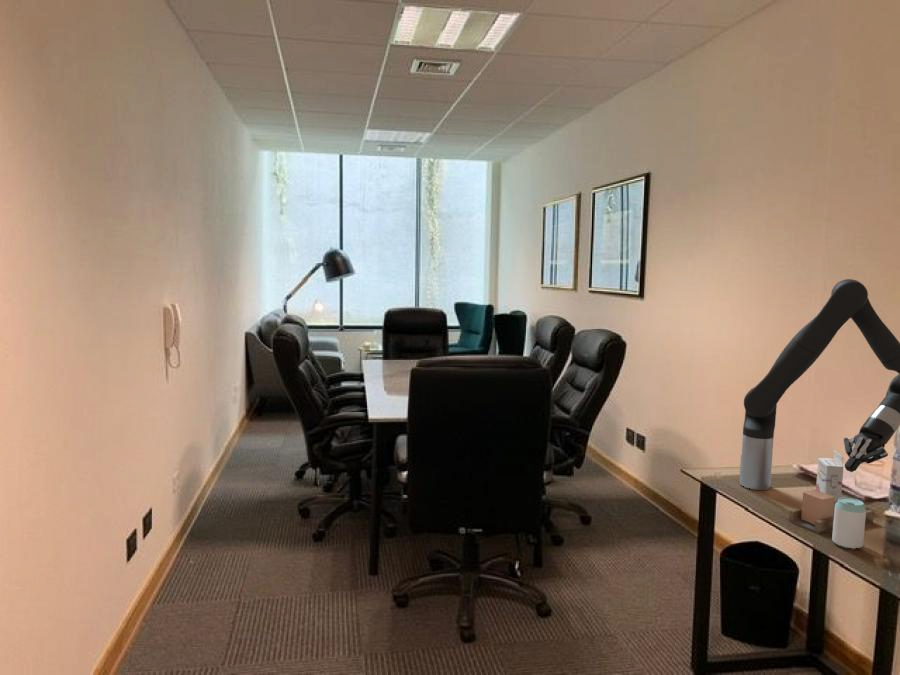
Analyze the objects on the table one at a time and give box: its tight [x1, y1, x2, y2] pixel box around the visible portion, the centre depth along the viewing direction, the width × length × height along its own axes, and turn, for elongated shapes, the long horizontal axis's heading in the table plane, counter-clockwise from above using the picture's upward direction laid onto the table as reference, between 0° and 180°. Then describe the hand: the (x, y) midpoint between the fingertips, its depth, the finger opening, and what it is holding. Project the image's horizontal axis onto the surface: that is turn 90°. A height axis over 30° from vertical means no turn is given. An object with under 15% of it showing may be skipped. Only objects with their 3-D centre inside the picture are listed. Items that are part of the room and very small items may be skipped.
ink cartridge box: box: [815, 449, 844, 502], centre depth 207 cm, size 9×5×15 cm, turn 168°
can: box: [831, 496, 867, 550], centre depth 173 cm, size 7×7×12 cm
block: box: [801, 489, 835, 525], centre depth 186 cm, size 5×6×8 cm
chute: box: [788, 501, 875, 535], centre depth 189 cm, size 22×9×3 cm, turn 112°
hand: (848, 469), depth 189 cm, fingers closed
